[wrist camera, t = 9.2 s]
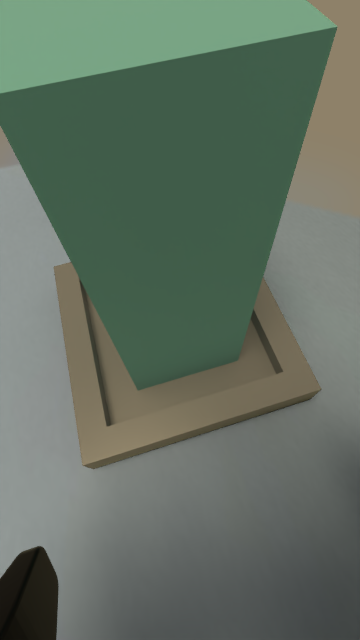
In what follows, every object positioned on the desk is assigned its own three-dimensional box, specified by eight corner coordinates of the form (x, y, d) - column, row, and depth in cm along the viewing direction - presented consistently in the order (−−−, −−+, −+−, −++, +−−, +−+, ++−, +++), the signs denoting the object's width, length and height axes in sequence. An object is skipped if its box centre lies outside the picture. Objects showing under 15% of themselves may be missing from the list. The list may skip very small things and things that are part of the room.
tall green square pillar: (237, 360, 16) (337, 26, 5) (137, 390, 16) (-15, 96, 4) (204, 280, 19) (219, -74, 7) (116, 304, 18) (-18, -35, 7)
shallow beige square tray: (310, 399, 16) (321, 389, 14) (93, 469, 15) (82, 465, 13) (231, 239, 21) (233, 220, 19) (63, 283, 20) (53, 266, 18)
